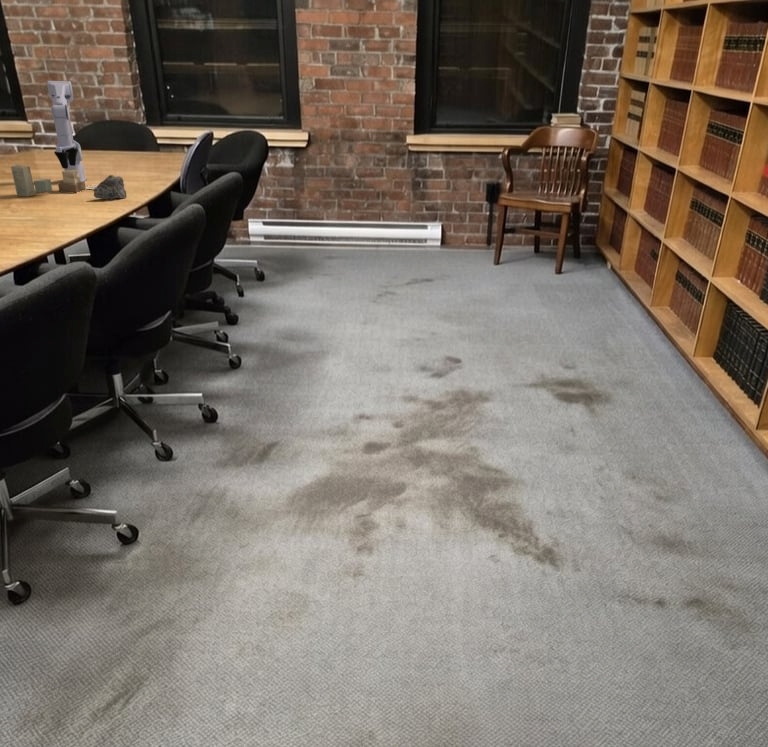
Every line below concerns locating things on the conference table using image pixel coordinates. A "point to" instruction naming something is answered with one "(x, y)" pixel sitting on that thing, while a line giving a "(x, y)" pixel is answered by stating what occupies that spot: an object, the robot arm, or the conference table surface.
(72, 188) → the walnut block
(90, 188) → the card
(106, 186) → the mineral rock
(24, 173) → the skincare box
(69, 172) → the maple cube
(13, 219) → the conference table surface
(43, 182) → the sage cube
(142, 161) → the conference table surface
